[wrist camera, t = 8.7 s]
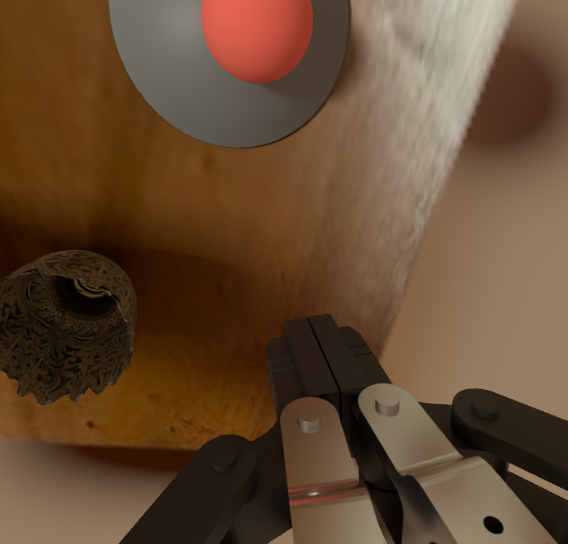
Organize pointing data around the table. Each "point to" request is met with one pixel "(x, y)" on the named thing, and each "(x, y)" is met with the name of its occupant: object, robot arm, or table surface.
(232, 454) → the robot arm
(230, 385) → the table surface
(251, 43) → the ball
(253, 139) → the gray disc
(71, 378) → the cup
